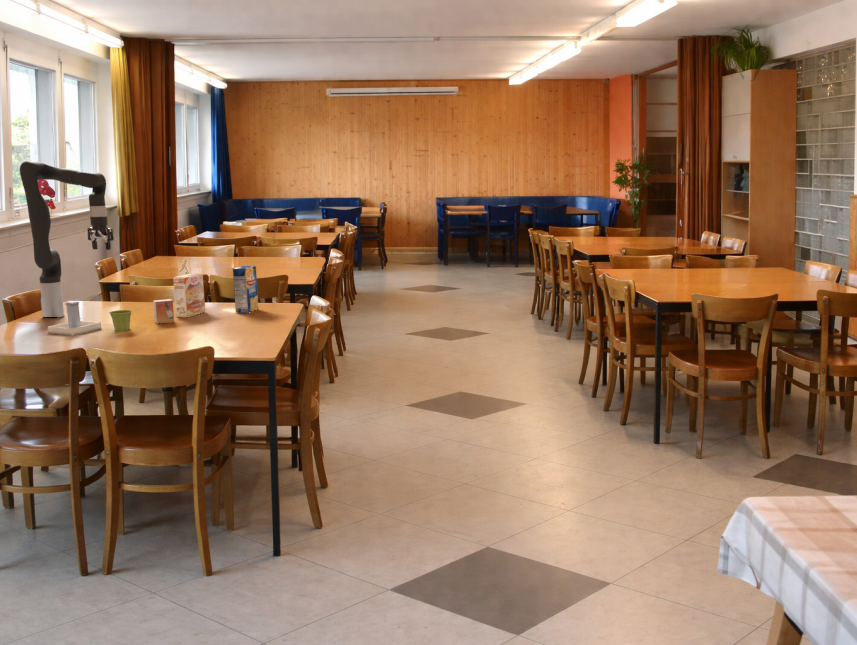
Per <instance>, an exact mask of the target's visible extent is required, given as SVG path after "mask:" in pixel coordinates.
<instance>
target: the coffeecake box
mask: <svg viewBox="0 0 857 645" xmlns="http://www.w3.org/2000/svg"><path fill="white" fill-rule="evenodd" d="M172 279H173V280H172V282H173V294H174V306H175V307H174V308H175V317H176V318H186V317H188V318H190V316H191V317H194V316H197V314H198V315H200V313H201V314H203V312H204V313H206V304H205V290H204V288H205V287H204V273H189V274H187V275H185V274H182V275H178V276H174V277H172Z"/></svg>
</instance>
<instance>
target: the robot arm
mask: <svg viewBox="0 0 857 645" xmlns="http://www.w3.org/2000/svg"><path fill="white" fill-rule="evenodd" d="M19 175H20V181H21V182H22V186H23V190H24V193H25V194H24V195H25V201H26V205H27V211H28V218H29V224H30V231H31V235H32V242H33V244H32V245H33V257H34V258H33V259H34V264H36V267H38V268H39V269H41V270H42V271H41V275H40V276H39V286H40V295H41V297H40V305H41V313H42V315H41V316H42V317H43V316H44V317H57V318H62V317H65V308H64V298H63V291H62V290H63V289H62V282H61V277H62V264H61V263H62V260H61V257H60V256H61V255H60V254H59V252H58V251H57V250H55V249H54V248H51V247H50V240H49V237H50V230H51V227H52V225H51V224H52V221H51V218H52V217H51V212H50V208H49V205H48V203H47V202H46V200H45V199H44V197H43V195H42V194H41V191H40V187H39V181H42V180H43V181H44V180H45V181H46V180H47V181H48V180H52V181H53V180H54V181H58V182H61V183H63V184H67V185H74V186H80V187H84V188H87V189H92V191H91V193H90V194H88V203H89V219H90V221H89V222H90V226H91V227H87V229H86V230H87V240H88V241H90V242H91V247H92V250H98V249H99V248H98V238H101V239H103V240H104V243H105V250H106V251H110V250H111V248H112V246H111V244H112V243H111V242H112V241H114V233H113V232H114V231H113V228H112V227H107V226H108V224H109V223H108V215H107V214H108V212H107V207H106V198H105V196H106V189H107V180H106V177H105V175H103V173H101V172H86V171H83V170H78V169H72V168H65V167H63V168H62V167H57V166H53V165H50V164H46V163H44V162H42V161H37V160H30V161H29V160H28V161H27V160H26V161H23V162H22V163H21V164H20V167H19ZM44 317H43V318H44Z"/></svg>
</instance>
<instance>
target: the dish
mask: <svg viewBox="0 0 857 645" xmlns="http://www.w3.org/2000/svg"><path fill="white" fill-rule="evenodd" d="M80 323H81V327H76V328H69V326H68V321H67V322H63V323H57V324H54V325H49V326H47V332H48V333H54V334H53V335H58V334H61V335H60V336H67V335H70V336H71V337H74V336H75V335H76V336H79V334H80V335H84V334H88V333H92V332H96V331H100V330H99V329H101V330H102V323H101V322H98V321H89V320H80ZM95 330H96V331H95ZM91 331H92V332H91ZM87 332H88V333H87ZM48 333H47V334H48ZM83 333H84V334H83ZM70 336H69V337H70Z"/></svg>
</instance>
